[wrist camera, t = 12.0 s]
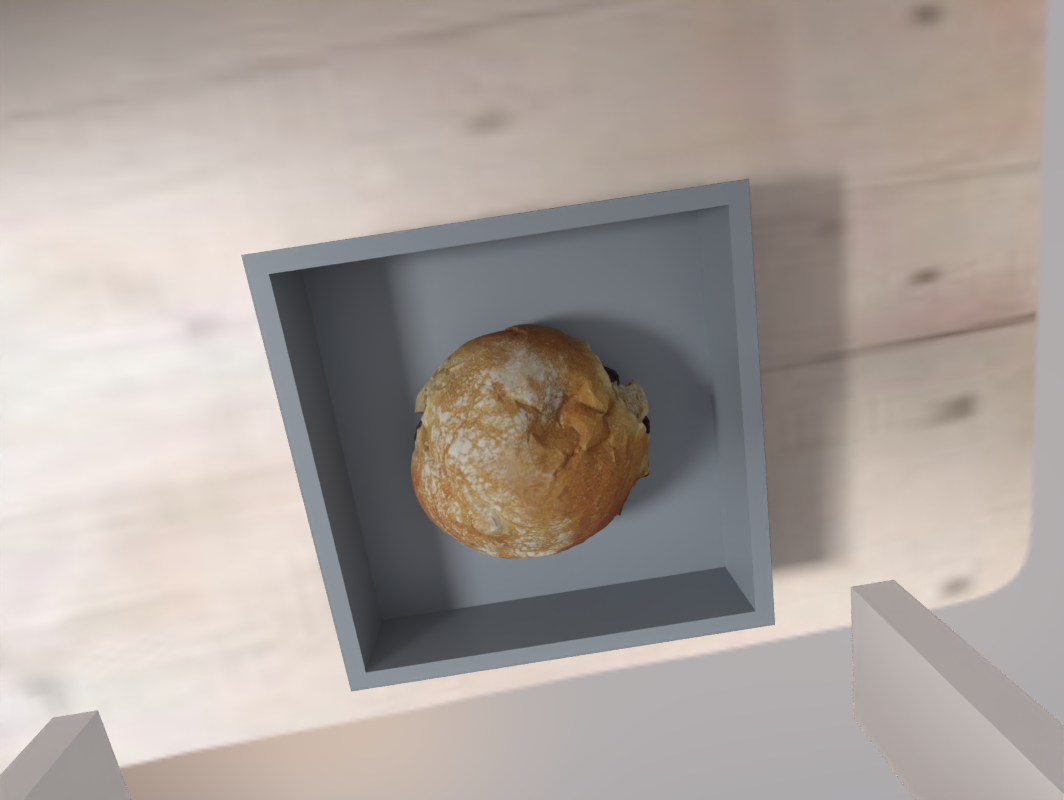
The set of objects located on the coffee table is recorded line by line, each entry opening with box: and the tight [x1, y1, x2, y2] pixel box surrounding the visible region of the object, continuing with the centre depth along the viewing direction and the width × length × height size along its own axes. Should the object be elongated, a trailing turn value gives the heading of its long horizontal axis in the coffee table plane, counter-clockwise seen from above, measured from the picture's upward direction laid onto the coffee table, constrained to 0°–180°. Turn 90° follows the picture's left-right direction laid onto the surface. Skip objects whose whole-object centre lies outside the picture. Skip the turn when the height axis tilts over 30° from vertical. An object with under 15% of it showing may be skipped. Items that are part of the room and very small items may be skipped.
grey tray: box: [241, 179, 775, 691], centre depth 28 cm, size 19×19×4 cm
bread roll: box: [411, 324, 651, 559], centre depth 27 cm, size 10×10×8 cm
